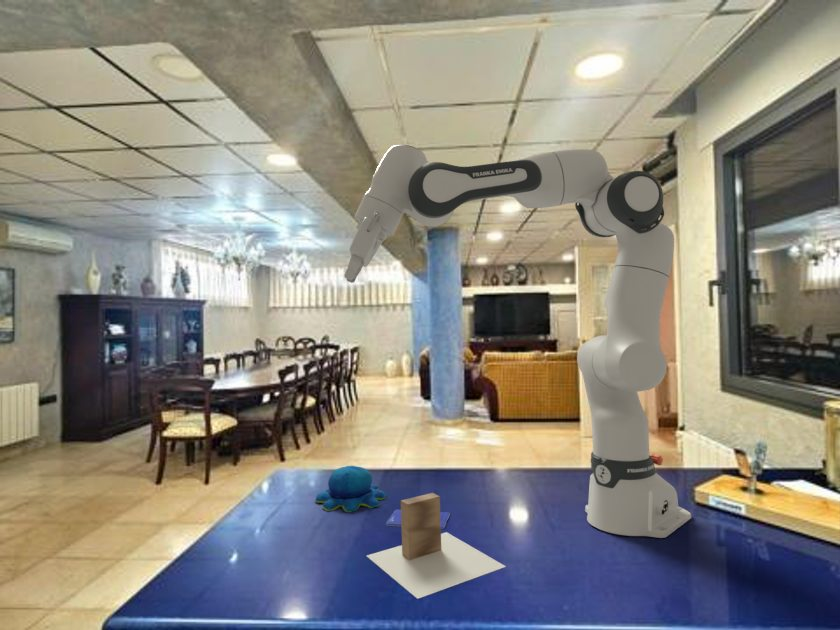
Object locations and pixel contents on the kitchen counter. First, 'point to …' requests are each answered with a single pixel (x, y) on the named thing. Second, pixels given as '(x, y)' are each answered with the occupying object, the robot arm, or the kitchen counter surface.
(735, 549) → the kitchen counter surface
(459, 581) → the mat
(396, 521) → the hard drive
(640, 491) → the robot arm
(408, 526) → the teal-faced wooden block
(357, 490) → the plush toy
